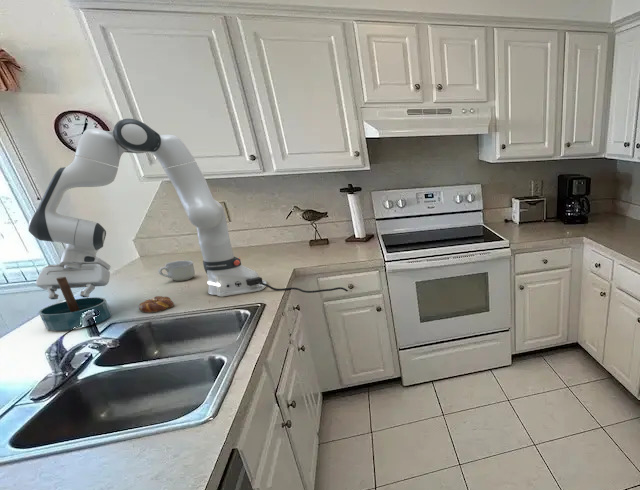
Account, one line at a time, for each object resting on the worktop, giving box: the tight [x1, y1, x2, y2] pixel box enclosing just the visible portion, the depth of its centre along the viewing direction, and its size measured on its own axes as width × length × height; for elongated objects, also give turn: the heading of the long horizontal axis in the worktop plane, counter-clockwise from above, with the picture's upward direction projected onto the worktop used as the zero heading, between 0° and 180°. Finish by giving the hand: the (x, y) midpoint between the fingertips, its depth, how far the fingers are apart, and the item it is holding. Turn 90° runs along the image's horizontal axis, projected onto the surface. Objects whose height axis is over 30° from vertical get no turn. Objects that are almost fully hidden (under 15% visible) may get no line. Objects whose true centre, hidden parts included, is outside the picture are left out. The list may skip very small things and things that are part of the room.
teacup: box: [158, 259, 196, 282], centre depth 194 cm, size 14×11×8 cm
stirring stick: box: [56, 277, 80, 312], centre depth 145 cm, size 4×4×16 cm
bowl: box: [38, 296, 112, 332], centre depth 148 cm, size 17×17×6 cm
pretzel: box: [137, 295, 175, 313], centre depth 161 cm, size 12×11×4 cm
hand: (68, 297), depth 145 cm, fingers open, 8 cm apart
